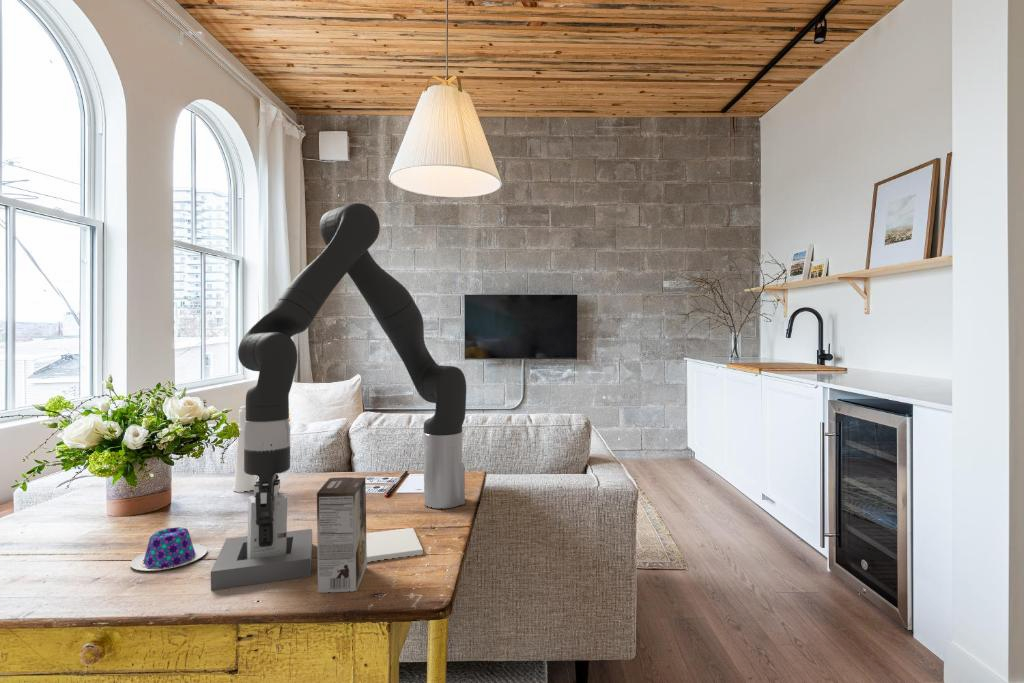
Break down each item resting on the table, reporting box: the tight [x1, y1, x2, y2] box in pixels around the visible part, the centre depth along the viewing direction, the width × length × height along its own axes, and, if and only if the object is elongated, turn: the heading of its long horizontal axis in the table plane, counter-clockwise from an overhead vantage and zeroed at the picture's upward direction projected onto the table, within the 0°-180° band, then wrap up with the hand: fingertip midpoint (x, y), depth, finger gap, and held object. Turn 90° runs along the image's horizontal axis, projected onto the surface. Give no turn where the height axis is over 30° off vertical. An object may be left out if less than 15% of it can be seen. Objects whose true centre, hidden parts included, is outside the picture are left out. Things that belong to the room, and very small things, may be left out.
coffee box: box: [316, 476, 368, 594], centre depth 91 cm, size 9×6×16 cm
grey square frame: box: [210, 528, 313, 591], centre depth 97 cm, size 15×15×3 cm
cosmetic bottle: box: [232, 405, 258, 493], centre depth 145 cm, size 6×6×22 cm
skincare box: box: [246, 492, 288, 560], centre depth 97 cm, size 6×4×12 cm
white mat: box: [366, 527, 424, 563], centre depth 105 cm, size 12×12×1 cm
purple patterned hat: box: [129, 526, 208, 572], centre depth 100 cm, size 12×12×5 cm
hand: (267, 539), depth 97 cm, fingers closed on skincare box, 5 cm apart
